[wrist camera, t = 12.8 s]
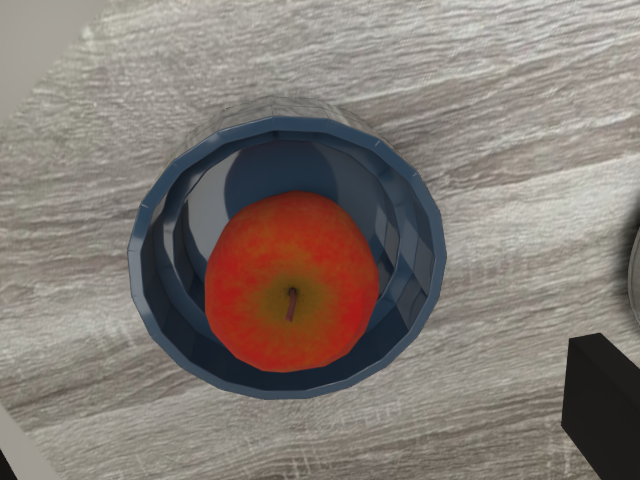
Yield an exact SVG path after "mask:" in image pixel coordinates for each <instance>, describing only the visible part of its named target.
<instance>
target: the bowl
mask: <svg viewBox="0 0 640 480" xmlns="http://www.w3.org/2000/svg"><path fill="white" fill-rule="evenodd" d="M292 190H300V191H307V192H313V193H317V194H319V195H322V196H324V197H327V198H329V199H331V200H332V201H334V202H335V203H336V204H337V205H339V206H340V207H341V208H342V209H343V210H345V211H346V212H347V213H348V214H349V215H350V217H351V218H352V219H353V221H354V222H355V224H356V225H357V227H358V228H359V230H360V231H361V232H362V234H363V236H364V237H365V239H366V241H367V242H368V245H369V248H370V250H371V253H372V255H373V258H374V261H375V263H376V266H377V269H378V271H379V296H378V298H377V301H376V304H375V306H374V309H373V312H372V314H371V317H370V320H369V322H368V325H367V328H366V330H365V333H364V334H363V335H362V336H361V338H360V339H359V340H358V341H357V343H356V344H355V345H354V346H353V348H352V349H351V350H350V352H349V353H348V354H346V355H344V356H343V357H341V358H339V359H337V360H335V361H334V362H332V363H330V364H328V365H326V366H324V367H317V368H311V369H305V370H298V371H292V372H286V373H282V372H269V371H262V370H260V369H258V368H256V367H254V366H252V365H250V364H248V363H246V362H244V361H242V360H240V359H238V358H236V357H235V356H234V355H233V354H232V353H231V352H230V351H229V349H228V348H227V347H226V346H225V345H224V344H223V343H222V342H221V341H220V340H219V339H218V337H217V336H216V335H215V334H214V333H213V332H212V330H211V327H210V325H209V322H208V319H207V316H206V314H205V275H206V269H207V264H208V259H209V257H210V255H211V253H212V251H213V249H214V247H215V245H216V243H217V241H218V239H219V237H220V235H221V233H222V231H223V229H224V227H225V226H226V224H227V223H228V222H229V220H230V219H231V218H232V217H233V216H234V215H235V214H236V213H238V212H239V211H240V210H241V209H242V208H244V207H246V206H247V205H250V204H252V203H254V202H257V201H259V200H261V199H264V198H266V197H269V196H273V195H277V194H280V193H284V192H288V191H292ZM127 249H128V251H127V256H128V267H129V278H130V289H131V296H132V299H133V301H134V303H135V305H136V307H137V309H138V312H139V314H140V316H141V318H142V320H143V322H144V324H145V326H146V328H147V330H148V333H149V335H150V336H151V337H152V339H153V340H154V341H155V342H156V343H157V344H158V345H159V346H160V347H161V348H162V349H163V350H164V351H165V352H166V353H167V354H168V355H169V356H170V357H171V358H172V359H173V360H174V361H175V362H176V363H177V364H178V365H179V366H180V367H181V368H182V369H184V370H185V371H187V372H189V373H191V374H193V375H195V376H196V377H198V378H200V379H202V380H204V381H205V382H207V383H209V384H211V385H213V386H215V387H216V388H218V389H221V390H224V391H228V392H233V393H237V394H241V395H245V396H249V397H254V398H258V399H264V400H279V399H307V398H308V399H309V398H313V397H317V396H320V395H324V394H328V393H331V392H335V391H339V390H342V389H346V388H349V387H352V386H353V385H355V384H357V383H359V382H360V381H362V380H364V379H366V378H368V377H369V376H371V375H373V374H375V373H376V372H378V371H380V370H382V369H383V368H385V367H387V366H388V365H389V364H390V363H391V362H392V361H393V360H394V359H395V358H396V357H397V356H398V355H399V354H400V353H402V352H403V351H404V350H405V349H406V348H407V347H408V346H409V345H410V344H411V343H412V342H413V341H414V340H415V339H416V338H417V337H418V335H419V334H420V332H421V330H422V328H423V327H424V325H425V323H426V321H427V319H428V317H429V316H430V314H431V312H432V310H433V308H434V307H435V305H436V303H437V301H438V298H439V296H440V290H441V285H442V280H443V275H444V270H445V264H446V259H447V252H446V245H445V239H444V232H443V226H442V219H441V213H440V210H439V209H438V207H437V205H436V203H435V201H434V200H433V198H432V196H431V194H430V192H429V191H428V189H427V187H426V185H425V183H424V182H423V180H422V178H421V176H420V174H419V173H418V172H417V170H416V169H415V168H414V167H413V166H412V165H411V164H410V163H409V162H408V161H407V160H406V159H405V158H404V157H403V156H402V155H401V154H400V153H399V152H398V151H397V150H396V149H395V148H394V147H393V146H392V145H391V144H390V143H389V142H387V141H386V140H385V139H384V138H383V137H382V136H381V135H379V134H378V133H377V132H376V131H375V130H374V129H372V128H371V127H370V126H369V125H368V124H367V123H366V122H364V121H363V120H362V119H361V118H360V117H357V116H356V115H355V114H352V113H350V112H347V111H345V110H342V109H340V108H337V107H335V106H332V105H330V104H327V103H325V102H322V101H320V100H316V99H307V98H290V97H273V96H272V97H266V98H262V99H259V100H255V101H251V102H248V103H244V104H240V105H237V106H233V107H229V108H226V110H223V111H221V112H220V113H218V114H217V115H215V116H214V117H212V118H211V119H210V120H208V121H207V122H205V123H204V124H202V125H201V126H199V127H198V128H196V129H195V130H193V131H192V132H190V133H189V135H187V136H186V137H185V139H184V140H183V141H182V143H181V144H180V145H179V147H178V148H177V150H176V151H175V152H174V154H173V155H172V156H171V158H170V159H169V160H168V162H167V163H166V164H165V166H164V167H163V169H162V170H161V172H160V173H159V175H158V176H157V178H156V180H155V181H154V183H153V184H152V186H151V187H150V189H149V190H148V192H147V194H146V195H145V197H144V198H143V200H142V201H141V204H140V206H139V210H138V213H137V217H136V220H135V224H134V227H133V231H132V234H131V238H130V241H129V245H128V248H127Z"/></svg>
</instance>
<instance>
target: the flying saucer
mask: <svg viewBox="0 0 640 480" xmlns="http://www.w3.org/2000/svg"><path fill="white" fill-rule="evenodd" d="M628 294H629V300H630V305H631V308H632V312H633V314H634V317H635V319H636V321H637V323H638V325H639V326H640V228H639V230H638V233H637V235H636V238H635V241H634V244H633V248H632V252H631V256H630V261H629V268H628Z"/></svg>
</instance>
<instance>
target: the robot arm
mask: <svg viewBox="0 0 640 480" xmlns="http://www.w3.org/2000/svg"><path fill="white" fill-rule="evenodd" d="M561 426H562V428H563V429H564V430H565V432H566V433H567V434H568V436H569V437H570V438H571V440H572V441H573V442H574V444H575V445H576V446H577V448H578V449H579V450H580V452H581V453H582V454H583V456H584V457H585V458H586V460H587V461H588V462H589V464H590V465H591V466H592V468H593V469H594V470H595V472H596V473H597V474H598V476H599V477H600V479H601V480H640V369H639V368H638V367H637V366H636V365H635V364H634V363H633V362H632V361H630V360H629V359H628V358H627V357H626V356H625V355H624V354H623V353H622V352H621V351H620V350H619V349H617V348H616V347H615V346H614V345H613V344H612V343H611V342H610V341H609V340H608V339H607V338H605V337H604V336H603V335H602V334H601V333H596V334H591V335H585V336H580V337H575V338H570V339H569V345H568V355H567V366H566V377H565V388H564V399H563V410H562V421H561ZM0 480H17V478H16V476H15V474H14V472H13V471H12V469H11V467H10V465H9V463H8V462H7V460H6V458H5V456H4V455H3V453H2V451H1V450H0Z"/></svg>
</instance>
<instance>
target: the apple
mask: <svg viewBox="0 0 640 480" xmlns="http://www.w3.org/2000/svg"><path fill="white" fill-rule="evenodd" d="M378 296H379V271H378V269H377V266H376V263H375V261H374V258H373V255H372V253H371V250H370V248H369V245H368V242H367V241H366V239H365V237H364V236H363V234H362V232H361V231H360V230H359V228H358V227H357V225H356V224H355V222H354V221H353V219H352V218H351V217H350V215H349V214H348V213H347V212H346V211H345V210H343V209H342V208H341V207H340V206H339V205H337V204H336V203H335V202H334V201H332V200H331V199H329V198H327V197H324V196H322V195H319V194H317V193H313V192H307V191H300V190H292V191H288V192H284V193H280V194H277V195H273V196H269V197H266V198H264V199H261V200H259V201H257V202H254V203H252V204H250V205H247V206H246V207H244V208H242V209H241V210H240V211H239V212H238V213H236V214H235V215H234V216H233V217H232V218H231V219H230V220H229V222H228V223H227V224H226V226H225V227H224V229H223V231H222V233H221V235H220V237H219V239H218V241H217V243H216V245H215V247H214V249H213V251H212V253H211V255H210V257H209V259H208V264H207V269H206V275H205V314H206V316H207V319H208V322H209V325H210V327H211V330H212V332H213V333H214V334H215V335H216V336H217V337H218V339H219V340H220V341H221V342H222V343H223V344H224V345H225V346H226V347H227V348H228V349H229V351H230V352H231V353H232V354H233V355H234V356H235V357H236V358H238V359H240V360H242V361H244V362H246V363H248V364H250V365H252V366H254V367H256V368H258V369H260V370H262V371H269V372H282V373H286V372H292V371H298V370H305V369H311V368H317V367H324V366H326V365H328V364H330V363H332V362H334V361H335V360H337V359H339V358H341V357H343V356H344V355H346V354H348V353H349V352H350V350H351V349H352V348H353V346H354V345H355V344H356V343H357V341H358V340H359V339H360V338H361V336H362V335H363V334H364V333H365V330H366V328H367V325H368V322H369V320H370V317H371V314H372V312H373V309H374V306H375V304H376V301H377V298H378Z"/></svg>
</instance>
